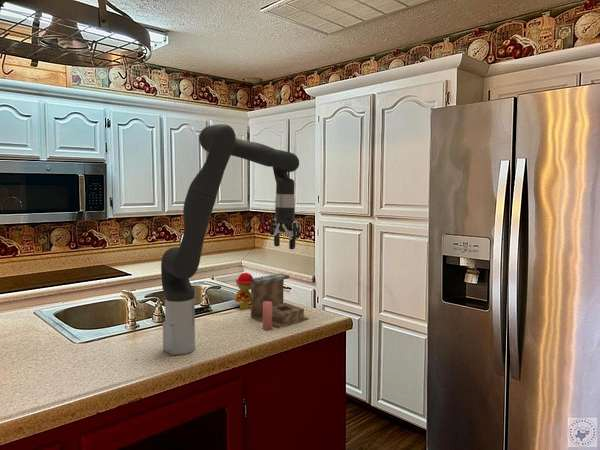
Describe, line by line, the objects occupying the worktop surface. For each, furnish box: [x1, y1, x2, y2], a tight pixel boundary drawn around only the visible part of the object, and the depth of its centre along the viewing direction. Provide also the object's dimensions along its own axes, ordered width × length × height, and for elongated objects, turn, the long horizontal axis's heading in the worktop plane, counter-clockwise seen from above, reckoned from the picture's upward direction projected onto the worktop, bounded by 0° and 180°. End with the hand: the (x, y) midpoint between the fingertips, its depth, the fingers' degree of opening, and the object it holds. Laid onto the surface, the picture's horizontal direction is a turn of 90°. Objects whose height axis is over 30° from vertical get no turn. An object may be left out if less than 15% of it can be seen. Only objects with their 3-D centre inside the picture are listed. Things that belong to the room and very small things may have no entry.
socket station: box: [250, 273, 309, 329], centre depth 176 cm, size 16×16×16 cm
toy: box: [234, 272, 254, 310], centre depth 191 cm, size 11×9×15 cm
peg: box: [262, 301, 273, 331], centre depth 165 cm, size 4×4×10 cm
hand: (284, 247), depth 172 cm, fingers open, 8 cm apart
